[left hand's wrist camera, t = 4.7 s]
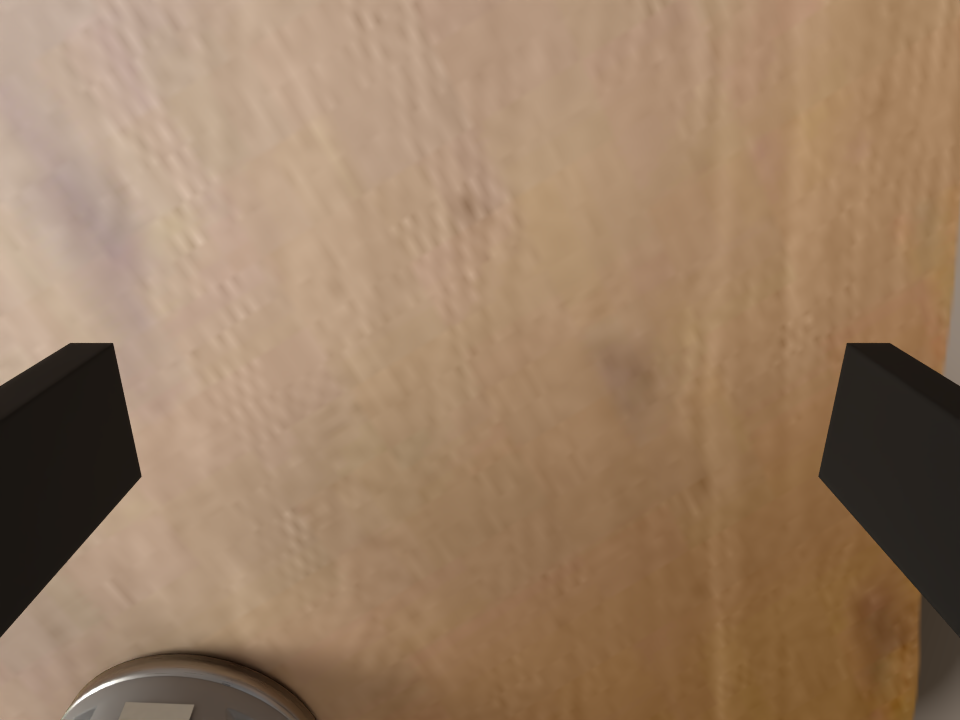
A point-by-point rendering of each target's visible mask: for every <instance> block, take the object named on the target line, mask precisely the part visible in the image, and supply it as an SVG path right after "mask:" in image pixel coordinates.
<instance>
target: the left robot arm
mask: <svg viewBox="0 0 960 720" xmlns="http://www.w3.org/2000/svg"><path fill="white" fill-rule="evenodd" d="M141 477H142V476H141V472H140V467H139V462H138V458H137V453H136V448H135V443H134V439H133V434H132V429H131V425H130V420H129V415H128V411H127V406H126V401H125V397H124V392H123V387H122V383H121V378H120V373H119V369H118V364H117V359H116V355H115V350H114V345H113V343H70V344H68V345H66V346H65V347H63V348H61V349H60V350H58V351H57V352H55V353H53V354H52V355H50V356H48V357H47V358H45V359H44V360H42V361H40V362H39V363H37V364H35V365H34V366H32V367H31V368H29V369H27V370H26V371H24V372H22V373H21V374H19V375H18V376H16V377H14V378H13V379H11V380H9V381H8V382H6V383H5V384H3V385H1V386H0V637H1V636H2V635H3V634H4V633H5V631H6V630H7V629H8V628H9V627H10V626H11V625H12V624H13V622H14V621H15V620H16V619H17V618H18V617H19V616H20V614H21V613H22V612H23V611H24V610H25V609H26V608H27V606H28V605H29V604H30V603H31V602H32V601H33V600H34V598H35V597H36V596H37V595H38V594H39V593H40V592H41V590H42V589H43V588H44V587H45V586H46V585H47V584H48V583H49V581H50V580H51V579H52V578H53V577H54V576H55V575H56V573H57V572H58V571H59V570H60V569H61V568H62V567H63V565H64V564H65V563H66V562H67V561H68V560H69V559H70V557H71V556H72V555H73V554H74V553H75V552H76V551H77V549H78V548H79V547H80V546H81V545H82V544H83V543H84V542H85V540H86V539H87V538H88V537H89V536H90V535H91V534H92V532H93V531H94V530H95V529H96V528H97V527H98V526H99V524H100V523H101V522H102V521H103V520H104V519H105V518H106V516H107V515H108V514H109V513H110V512H111V511H112V510H113V509H114V507H115V506H116V505H117V504H118V503H119V502H120V501H121V499H122V498H123V497H124V496H125V495H126V494H127V493H128V491H129V490H130V489H131V488H132V487H133V486H134V485H135V483H136V482H137V481H138V480H139V479H140V478H141ZM818 477H819V478H820V479H821V480H822V481H823V482H824V483H825V485H826V486H827V487H828V488H829V489H830V490H831V491H832V493H833V494H834V495H835V496H836V497H837V498H838V499H839V501H840V502H841V503H842V504H843V505H844V506H845V507H846V509H847V510H848V511H849V512H850V513H851V514H852V515H853V516H854V518H855V519H856V520H857V521H858V522H859V523H860V524H861V526H862V527H863V528H864V529H865V530H866V531H867V532H868V534H869V535H870V536H871V537H872V538H873V539H874V540H875V542H876V543H877V544H878V545H879V546H880V547H881V548H882V550H883V551H884V552H885V553H886V554H887V555H888V556H889V557H890V559H891V560H892V561H893V562H894V563H895V564H896V565H897V567H898V568H899V569H900V570H901V571H902V572H903V573H904V575H905V576H906V577H907V578H908V579H909V580H910V581H911V583H912V584H913V585H914V586H915V587H916V588H917V589H918V590H919V592H920V593H921V594H922V595H923V596H924V597H925V598H926V600H927V601H928V602H929V603H930V604H931V605H932V606H933V608H934V609H935V610H936V611H937V612H938V613H939V614H940V616H941V617H942V618H943V619H944V620H945V621H946V622H947V624H948V625H949V626H950V627H951V628H952V629H953V630H954V631H955V633H956V634H957V635H958V636H959V637H960V386H959V385H957V384H955V383H954V382H952V381H951V380H949V379H947V378H946V377H944V376H942V375H941V374H939V373H938V372H936V371H934V370H933V369H931V368H929V367H928V366H926V365H925V364H923V363H921V362H920V361H918V360H916V359H915V358H913V357H912V356H910V355H908V354H907V353H905V352H903V351H902V350H900V349H899V348H897V347H895V346H894V345H892V344H890V343H847V345H846V350H845V355H844V359H843V364H842V369H841V373H840V378H839V383H838V387H837V392H836V397H835V401H834V406H833V411H832V415H831V420H830V425H829V429H828V434H827V439H826V443H825V448H824V453H823V458H822V462H821V467H820V472H819V476H818ZM61 720H316V719H315V718H314V716H313V715H312V714H311V712H310V711H309V710H308V709H307V708H306V706H305V705H304V704H303V703H302V702H301V701H300V700H299V699H298V698H297V697H295V696H294V695H293V694H292V693H291V692H289V691H288V690H287V689H286V688H284V687H283V686H281V685H280V684H278V683H277V682H275V681H274V680H272V679H270V678H268V677H266V676H265V675H263V674H261V673H259V672H256V671H254V670H252V669H250V668H247V667H245V666H242V665H239V664H236V663H233V662H229V661H226V660H222V659H217V658H212V657H207V656H199V655H188V654H165V655H155V656H148V657H143V658H138V659H135V660H131V661H127V662H125V663H122V664H119V665H117V666H115V667H112V668H110V669H108V670H106V671H105V672H103V673H101V674H100V675H98V676H97V677H95V678H94V679H93V680H92V681H90V682H89V683H88V684H87V685H86V686H85V687H84V688H83V689H82V690H81V691H80V692H79V694H78V695H77V697H76V698H75V699H74V701H73V702H72V704H71V705H70V707H69V708H68V710H67V711H66V713H65V714H64V716H63V717H62V719H61Z"/></svg>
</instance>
